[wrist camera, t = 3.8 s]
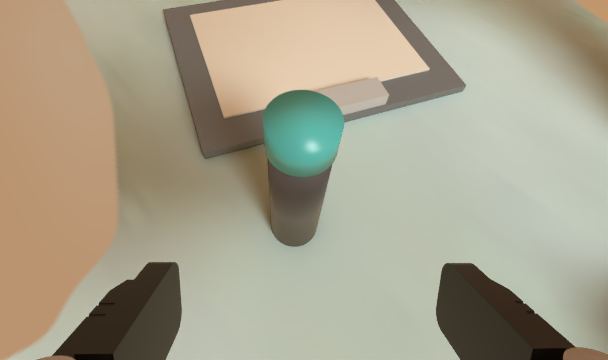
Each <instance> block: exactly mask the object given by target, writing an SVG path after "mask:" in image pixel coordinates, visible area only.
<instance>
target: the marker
mask: <svg viewBox="0 0 608 360" xmlns="http://www.w3.org/2000/svg"><path fill="white" fill-rule="evenodd" d="M343 128H344V117H343V114H342V112H341V110H340V108H339V107H338V105H337V104H336V103H335V102H334V101H333V100H332V99H330V98H329V97H327V96H325V95H323V94H321V93H318V92H315V91H311V90H292V91H288V92H285V93H282V94H280V95H278V96H277V97H275V98H274V99H273V100H272V101H270V103H269V104H268V105H267V107H266V108H265V111H264V114H263V129H264V144H265V152H266V156H267V159H268V175H269V192H270V208H271V225H272V231H273V234H274V236H275V237H276V238H277V240H279V241H280V242H281V243H283V244H285V245H288V246H301V245H304V244H306V243H307V242H309V241H310V240H311V239H312V238H313V236H314V234H315V232H316V228H317V224H318V220H319V216H320V212H321V208H322V204H323V200H324V196H325V192H326V188H327V184H328V179H329V175H330V171H331V167H332V163H333V162H334V160H335V158H336V155H337V152H338V148H339V144H340V140H341V136H342V132H343Z"/></svg>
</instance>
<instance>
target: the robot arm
mask: <svg viewBox="0 0 608 360" xmlns="http://www.w3.org/2000/svg"><path fill="white" fill-rule="evenodd" d="M181 313H182V308H181V294H180V280H179V268H178V265H177V263H176V262H149V263H148V264H147V265H146V266H145V267H144V268H143V270H142V271H141V272H140V273H139V274H138V276H137V277H136V278H135V279H134V280H126V281H125V282H123V283H121V284H120V285H118V286H117V287H115V288H113V289H112V290H110V291H109V292H108V294H107V295H106V296H105V297H104V298H103V299H102V300H101V301H100V303H99V306H96V307H95V308H94V309H93V310H92V312H91V313H90V314H89V317H86V318H85V319H84V320H83V322H82V323H81V324H80V325H79V326H78V327H77V328H76V329H75V331H74V332H73V333H72V334H71V335H70V336H69V337H68V338H67V340H66V341H65V342H64V343H63V344H62V345H61V346H60V347H59V349H58V350H57V351H56V352H55V353H54V354H53V355H52V356H50V357H45V358H41V359H38V360H166V357H167V355H168V353H169V351H170V348H171V346H172V344H173V342H174V340H175V337H176V335H177V333H178V330H179V327H180V322H181ZM436 316H437V321H438V324H439V327H440V329H441V331H442V332H443V334H444V335H445V337H446V338H447V340H448V341H449V343H450V345H451V346H452V348H453V349H454V351H455V352H456V354H457V355H458V357H459V358H460V360H608V354H605V353H602V352H599V351H596V350H592V349H588V348H579V347H575V346H574V345H572V344H571V343H570V342H569V341H568V340H567V339H566V338H564V337H563V336H562V335H561V334H560V333H559V332H557V331H556V330H555V329H554V328H553V327H552V326H551V325H549V324H548V323H547V322H546V321H545V320H544V319H543V318H541V317H540V316H539V315H538V314H535V313H534V311H533V310H532V309H531V308H530V307H529V306H528V305H527V304H523V301H522V300H521V299H520V298H518V297H517V296H516V295H515V294H514V293H513V292H512V291H510V290H509V289H507V288H506V287H504V286H502V285H500V284H498V283H496V282H495V281H493V280H491V279H489V278H488V277H487V276H486V275H485V274H484V273H483V272H482V271H481V270H479V269H478V268H477V267H476V266H475V265H474V264H472V263H446V264H445V265H444V266H443V268H442V273H441V279H440V286H439V293H438V299H437V306H436Z"/></svg>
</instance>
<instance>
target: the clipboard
mask: <svg viewBox="0 0 608 360" xmlns="http://www.w3.org/2000/svg"><path fill="white" fill-rule="evenodd" d="M163 11H164V14H165V18H166V22H167V25H168V29H169V32H170V36H171V40H172V43H173V47H174V51H175V54H176V58H177V61H178V65H179V69H180V72H181V76H182V80H183V83H184V87H185V90H186V94H187V98H188V101H189V105H190V109H191V112H192V116H193V119H194V123H195V127H196V130H197V134H198V138H199V141H200V145H201V148H202V152H203V155H204V158H209V157H213V156H217V155H221V154H225V153H228V152H232V151H236V150H240V149H244V148H247V147H251V146H255V145H259V144H263V143H264V129H263V114H264V111H265V108H266V107H267V105H268V104H269V103H270V101H272V100H273V99H274V98H275V97H277V96H278V95H280V94H282V93H285V92H288V91H292V90H311V91H315V92H318V93H321V94H323V95H325V96H327V97H329V98H330V99H332V100H333V101H334V102H335V103H336V104H337V105H338V107H339V108H340V110H341V112H342V114H343V117H344V122H347V121H351V120H355V119H358V118H362V117H366V116H370V115H374V114H377V113H381V112H385V111H389V110H393V109H397V108H400V107H404V106H408V105H412V104H416V103H419V102H423V101H427V100H431V99H435V98H439V97H442V96H446V95H450V94H454V93H458V92H462V91H463V90H464V88H465V86H466V84H465V83H464V82H463V81H462V80H461V78H460V77H459V76H458V75H457V74H456V73H455V71H454V70H453V69H452V68H451V67H450V65H449V64H448V63H447V62H446V61H445V60H444V58H443V57H442V56H441V55H440V54H439V52H438V51H437V50H436V49H435V48H434V46H433V45H432V44H431V43H430V42H429V41H428V39H427V38H426V37H425V36H424V35H423V33H422V32H421V31H420V30H419V29H418V27H417V26H416V25H415V24H414V23H413V22H412V20H411V19H410V18H409V17H408V16H407V14H406V13H405V12H404V11H403V10H402V9H401V7H400V6H399V5H398V4H397V3H396V1H395V0H222V1H216V2H209V3H203V4H196V5H190V6H183V7H177V8H170V9H164V10H163Z"/></svg>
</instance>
